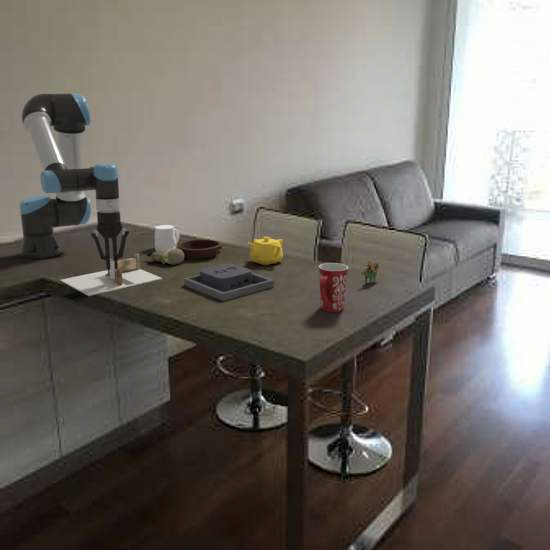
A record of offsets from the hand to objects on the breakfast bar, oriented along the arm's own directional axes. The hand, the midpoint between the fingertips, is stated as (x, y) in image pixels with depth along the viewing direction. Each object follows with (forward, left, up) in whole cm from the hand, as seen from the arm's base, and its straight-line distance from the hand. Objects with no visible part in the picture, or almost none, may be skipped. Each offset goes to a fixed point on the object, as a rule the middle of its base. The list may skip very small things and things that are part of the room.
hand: (112, 278), depth 210 cm
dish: (-12, +45, -3) cm, 47 cm away
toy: (-12, +30, -3) cm, 32 cm away
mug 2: (+67, +38, -2) cm, 77 cm away
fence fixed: (-10, +10, -2) cm, 14 cm away
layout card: (-5, +2, -2) cm, 6 cm away
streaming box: (+26, +30, -3) cm, 39 cm away
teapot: (+14, +58, -3) cm, 60 cm away
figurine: (+58, +68, -2) cm, 89 cm away
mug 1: (-31, +42, -3) cm, 52 cm away
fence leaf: (-2, +2, -1) cm, 3 cm away
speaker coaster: (+28, +29, -2) cm, 40 cm away
